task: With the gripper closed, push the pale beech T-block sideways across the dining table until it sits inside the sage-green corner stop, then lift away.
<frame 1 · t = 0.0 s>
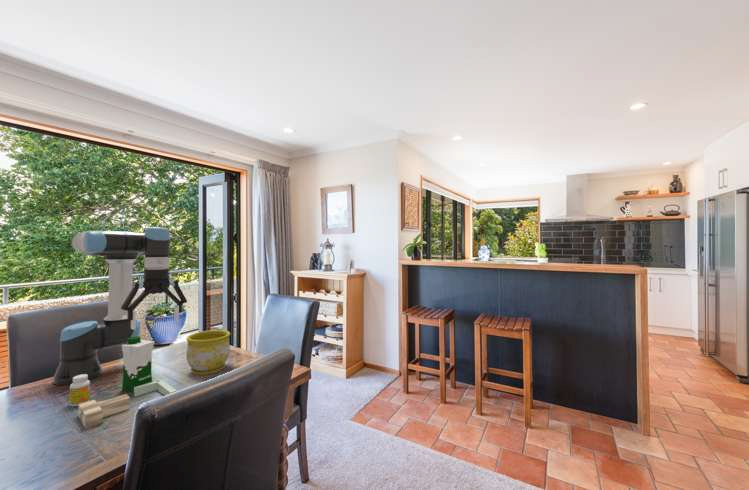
hand: (155, 325, 113), 28 cm above the table, fingers open, 13 cm apart
supplement bottle: (79, 403, 111), on the table
milk carton: (137, 387, 123), on the table
flowerpot: (208, 370, 142), on the table
corner stop: (165, 393, 118), on the table
t block: (90, 419, 100), on the table
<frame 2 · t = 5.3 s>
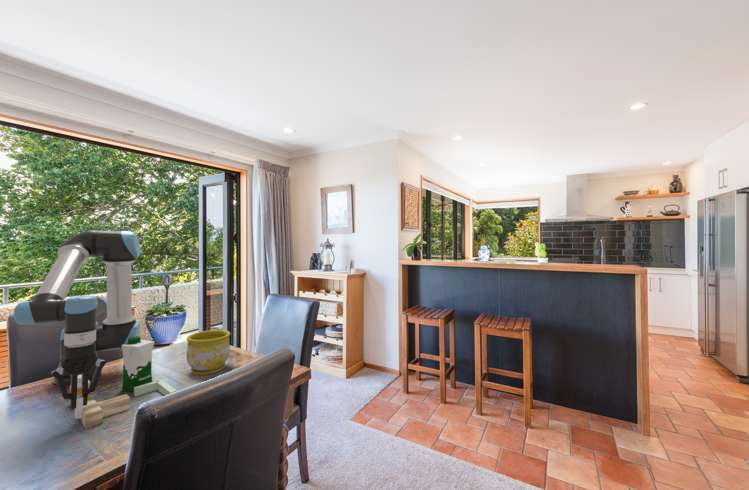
hand: (78, 416, 98), 2 cm above the table, fingers closed
t block: (89, 419, 100), on the table, touching gripper
everything else where it was.
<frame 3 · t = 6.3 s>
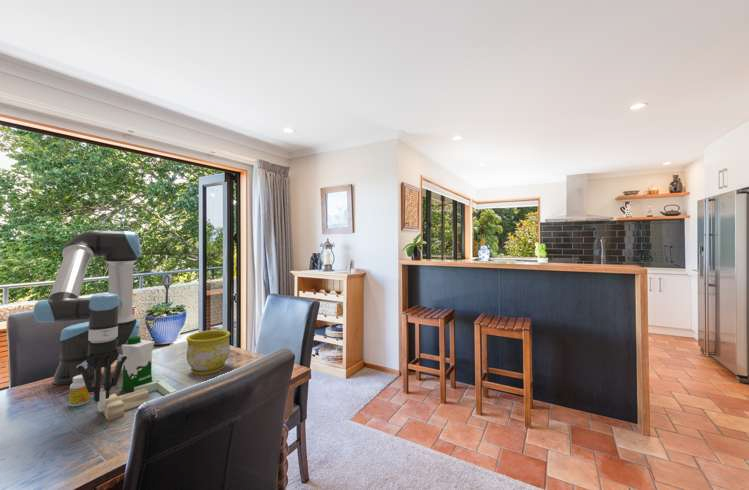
hand: (101, 409, 102), 2 cm above the table, fingers closed
t block: (111, 412, 105), on the table, touching gripper
everything else where it was.
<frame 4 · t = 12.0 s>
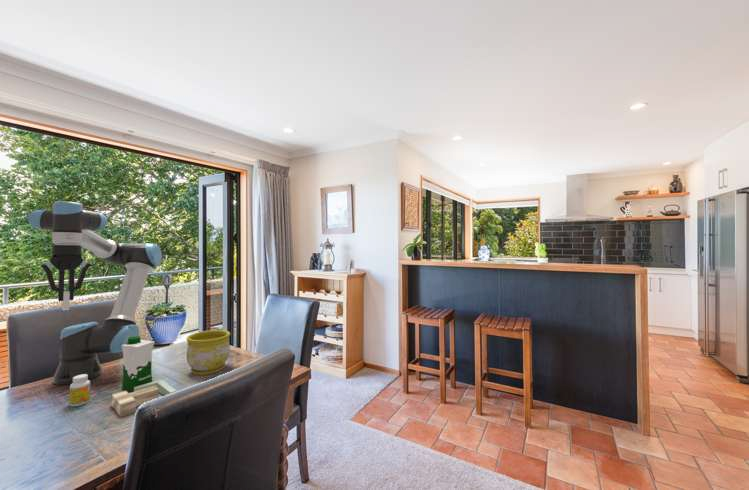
hand: (65, 309, 109), 34 cm above the table, fingers closed
t block: (123, 408, 107), on the table
everything else where it was.
at the end: t block inside the target area (1.3 cm from its centre), on the table; t block tilted 0°; the gripper is holding nothing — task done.
